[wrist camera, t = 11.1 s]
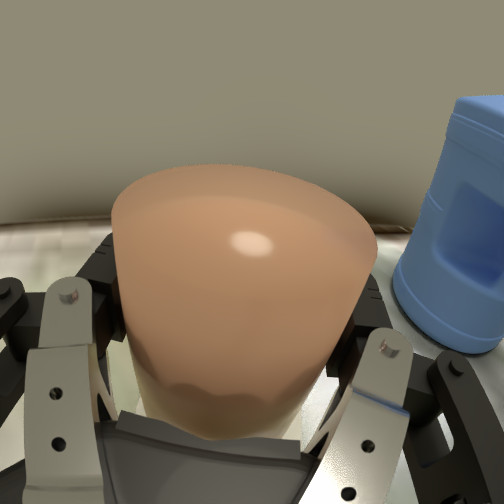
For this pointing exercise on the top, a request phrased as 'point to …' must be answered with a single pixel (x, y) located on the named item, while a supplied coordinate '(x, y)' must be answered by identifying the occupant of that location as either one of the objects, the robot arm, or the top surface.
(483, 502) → the robot arm
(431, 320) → the water jug
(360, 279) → the pillar candle
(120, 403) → the top surface
